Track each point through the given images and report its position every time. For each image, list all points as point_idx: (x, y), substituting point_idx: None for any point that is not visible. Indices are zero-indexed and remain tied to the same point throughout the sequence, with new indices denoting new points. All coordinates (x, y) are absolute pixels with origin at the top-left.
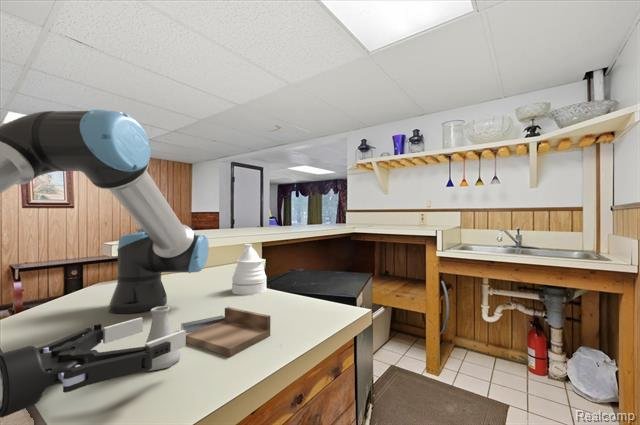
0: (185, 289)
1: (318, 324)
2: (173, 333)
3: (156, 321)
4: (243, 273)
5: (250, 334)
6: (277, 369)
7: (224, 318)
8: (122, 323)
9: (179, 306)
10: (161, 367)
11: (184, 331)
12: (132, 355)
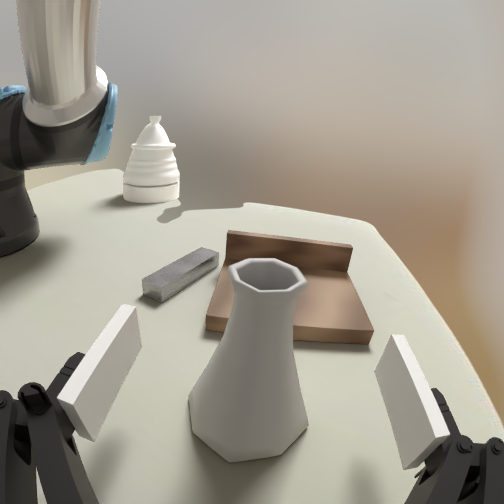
0: (44, 203)
1: (361, 248)
2: (402, 358)
3: (279, 329)
4: (150, 166)
5: (339, 286)
6: (455, 338)
7: (217, 254)
8: (101, 353)
9: (66, 233)
10: (299, 433)
11: (404, 338)
12: (496, 484)
